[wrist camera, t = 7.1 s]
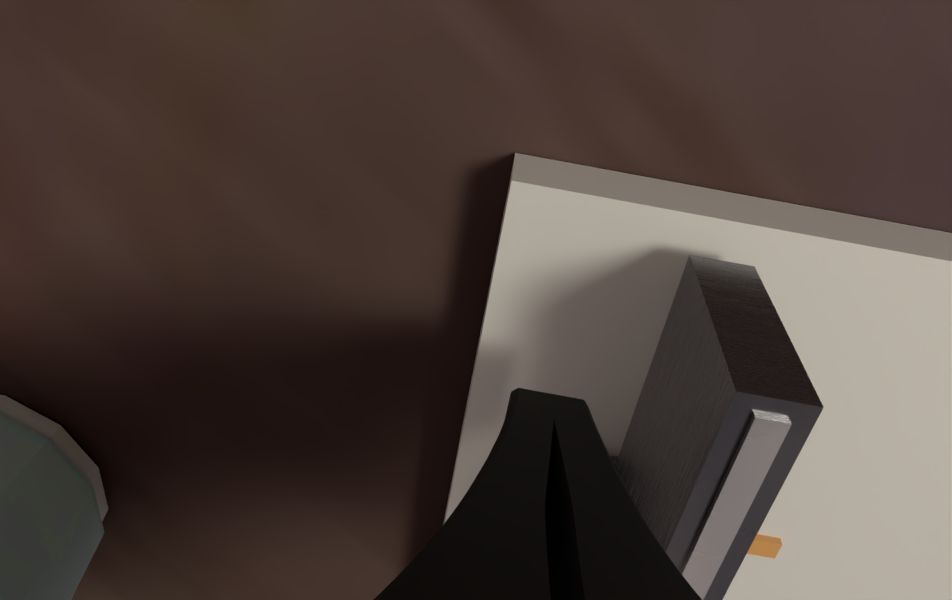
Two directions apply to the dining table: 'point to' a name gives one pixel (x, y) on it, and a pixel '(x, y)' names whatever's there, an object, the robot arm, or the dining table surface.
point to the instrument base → (808, 326)
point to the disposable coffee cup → (45, 507)
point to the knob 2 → (716, 422)
